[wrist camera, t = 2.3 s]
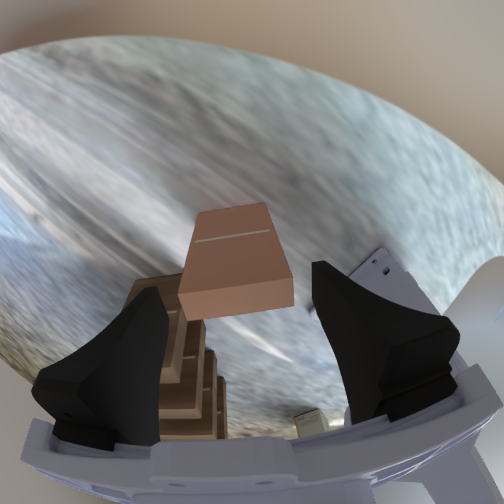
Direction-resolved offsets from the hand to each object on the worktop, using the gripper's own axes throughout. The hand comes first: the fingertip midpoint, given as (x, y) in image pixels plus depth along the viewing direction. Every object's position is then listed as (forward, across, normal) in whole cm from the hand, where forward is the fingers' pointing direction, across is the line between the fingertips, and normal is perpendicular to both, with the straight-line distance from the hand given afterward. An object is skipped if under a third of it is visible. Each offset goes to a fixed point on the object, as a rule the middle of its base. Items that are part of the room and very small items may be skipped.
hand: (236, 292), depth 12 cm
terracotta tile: (+9, 0, 0) cm, 9 cm away
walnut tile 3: (+9, +7, +10) cm, 15 cm away
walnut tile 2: (+9, +7, +15) cm, 19 cm away
